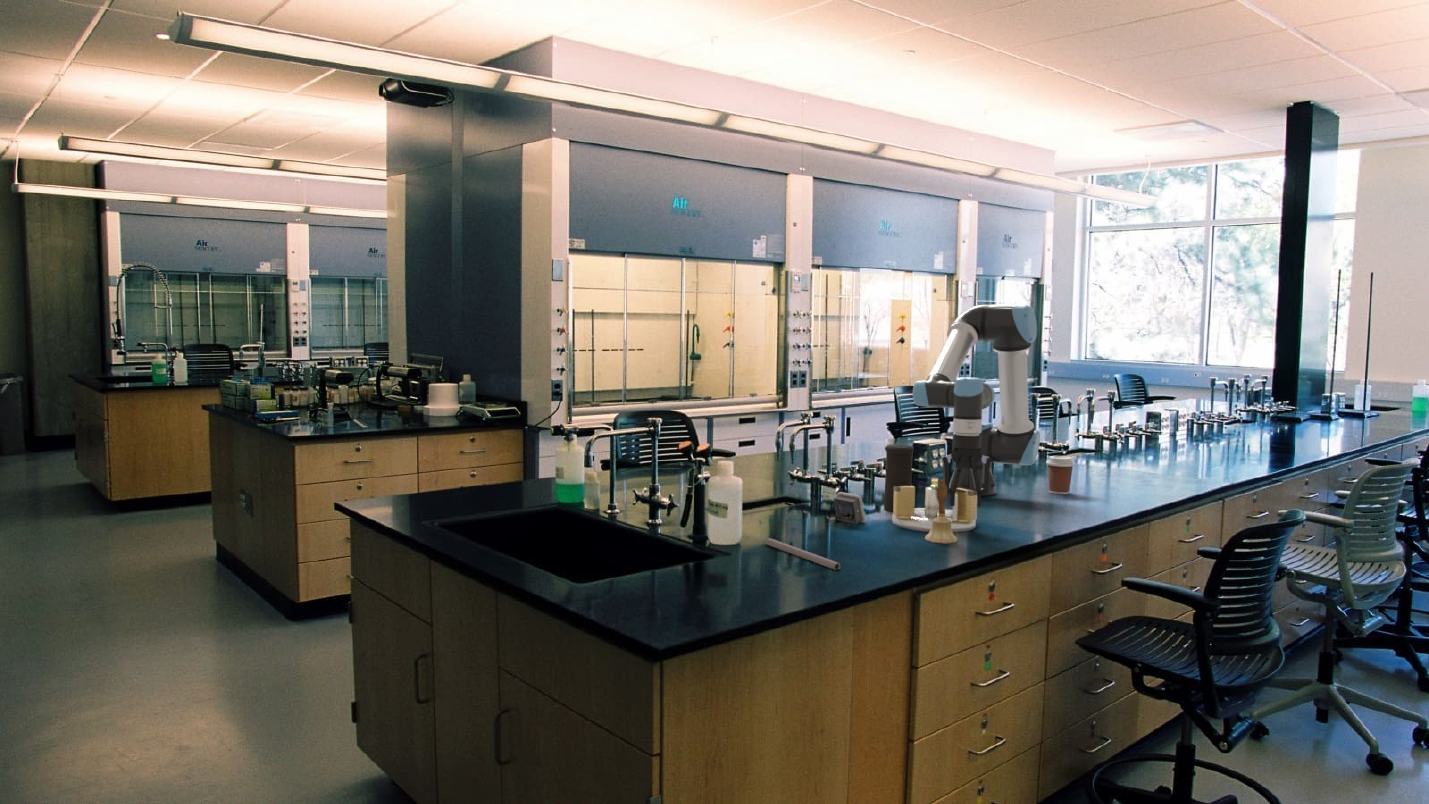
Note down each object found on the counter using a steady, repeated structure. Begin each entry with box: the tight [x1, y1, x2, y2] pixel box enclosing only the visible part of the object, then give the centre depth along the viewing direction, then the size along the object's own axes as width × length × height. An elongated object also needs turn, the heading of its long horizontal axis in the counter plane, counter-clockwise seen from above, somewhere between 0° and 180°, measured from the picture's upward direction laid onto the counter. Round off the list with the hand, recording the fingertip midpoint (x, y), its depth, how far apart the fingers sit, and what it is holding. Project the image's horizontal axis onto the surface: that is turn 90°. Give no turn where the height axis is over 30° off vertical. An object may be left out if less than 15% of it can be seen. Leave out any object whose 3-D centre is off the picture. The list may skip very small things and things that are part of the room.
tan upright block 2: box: [955, 488, 976, 523], centre depth 248 cm, size 6×4×9 cm
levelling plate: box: [891, 484, 977, 534], centre depth 255 cm, size 23×23×11 cm
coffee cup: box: [1045, 455, 1076, 495], centre depth 304 cm, size 9×9×12 cm
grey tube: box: [765, 537, 841, 571], centre depth 218 cm, size 2×27×2 cm, turn 32°
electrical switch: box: [833, 491, 866, 525], centre depth 257 cm, size 8×5×8 cm, turn 44°
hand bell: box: [924, 478, 958, 545], centre depth 236 cm, size 8×8×16 cm
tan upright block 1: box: [892, 485, 916, 519], centre depth 252 cm, size 6×4×9 cm
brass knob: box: [930, 477, 939, 485], centre depth 264 cm, size 6×4×9 cm
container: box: [883, 443, 915, 512], centre depth 273 cm, size 9×9×20 cm
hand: (964, 517), depth 249 cm, fingers closed on tan upright block 2, 5 cm apart
